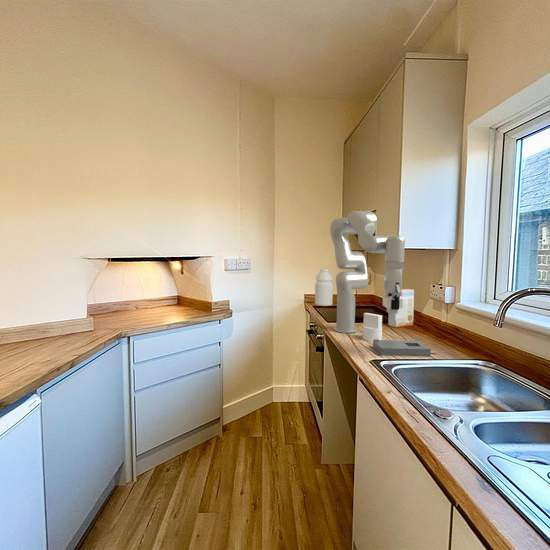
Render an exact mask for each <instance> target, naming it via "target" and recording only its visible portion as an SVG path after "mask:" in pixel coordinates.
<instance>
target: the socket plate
mask: <svg viewBox="0 0 550 550" xmlns="http://www.w3.org/2000/svg"><path fill="white" fill-rule="evenodd" d="M372 347H373V348H374V349H375V350H376V352H377V353H378V354H379V355H380V354H381V355H380V356H382V355H415V356H414V357H431V355H432V353H431V351H432V348H430V347H428V346H427V345H425V344H424V343H423V342H421V341H420V340H410V339H408V340H407V339H405V340H403V339H401V340H400V339H382V340H379V339H374V340H373V341H372Z"/></svg>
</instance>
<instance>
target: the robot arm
mask: <svg viewBox="0 0 550 550" xmlns="http://www.w3.org/2000/svg"><path fill="white" fill-rule="evenodd" d="M377 223H378V219H377V215H376V214H375V212H373V211H369V210H353V211H352V212H350V213H348V214H347V217H337V218H334V219H333V220H332V221H331V223H330V228H329V230H330V231H329V232H330V238H331V240H332V243H333V246H334V254H335V262H336V266H337V268H339V269H340V270H347V271H340V272H339V273H337V274H336V277H335V287H336V325H335V326H334V327H333V329H334V330H335V332H336V331H337V333H341V332H342V333H343V334H353V333H354V332H355V333H357V332H358V328H357V327H355V324H356V322H355V321H356V296H355V294H354V292H353V290H362V289H363V290H364V289H366V288H367V287H368V285H369V279H370V278H369V272H368V264H367V258H366V257H365V255H364V253H362V252H360V251H352V247H351V243H350V240H349V239H348V238H347V236H346V235H358V236H357V240H358V244H359V245H360V246H361V248H362V249H363V250H364V251H366V252H367V253H370V254H385V255H384V270H385V271H384V276H383V277H384V278H383V291H384V292H385V293H386V295H385V296H392V300H391V309H392V310H399V302H400V294H401V291H402V289H403V270H405V269H404V267H405V266H404V265H405V245H406V239H405V237H404V236H399V235H398V236H397V235H396V236H395V235H394V236H393V235H392V236H391V235H390V236H388V235H374V234H375V233H376V231H377ZM353 270H354V271H353ZM391 292H392V294H391ZM394 294H395V296H394ZM333 329H332V330H333ZM334 330H333V331H334Z"/></svg>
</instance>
